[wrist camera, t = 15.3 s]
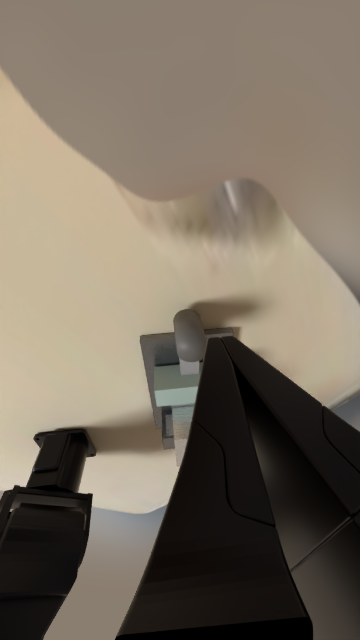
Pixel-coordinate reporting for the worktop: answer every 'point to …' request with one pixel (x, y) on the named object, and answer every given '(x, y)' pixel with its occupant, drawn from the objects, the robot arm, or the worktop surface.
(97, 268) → the worktop surface
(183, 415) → the steel block
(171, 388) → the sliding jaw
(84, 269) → the worktop surface
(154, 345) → the base
